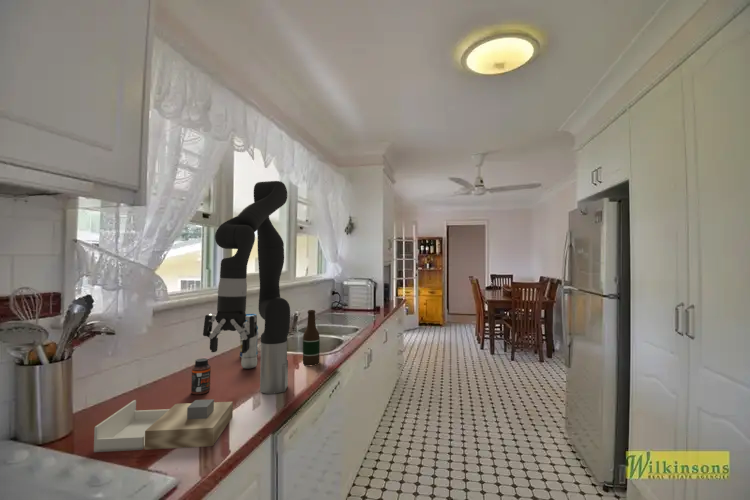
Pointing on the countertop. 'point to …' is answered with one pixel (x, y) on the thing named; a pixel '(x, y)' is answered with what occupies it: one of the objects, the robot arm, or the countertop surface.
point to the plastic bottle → (250, 352)
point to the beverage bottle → (241, 338)
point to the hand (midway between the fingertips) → (229, 352)
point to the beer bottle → (311, 341)
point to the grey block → (200, 409)
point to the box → (125, 429)
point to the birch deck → (188, 427)
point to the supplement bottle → (201, 377)
